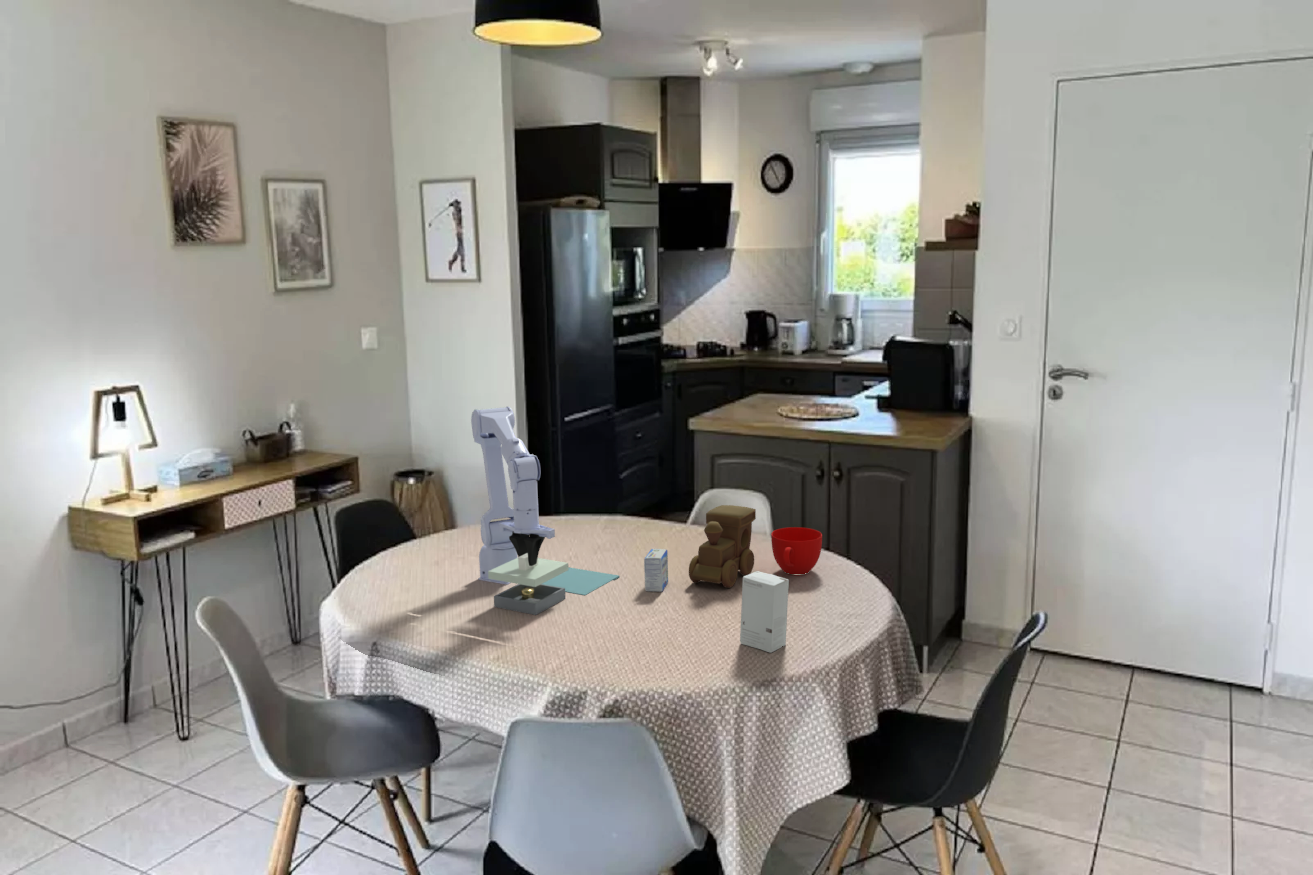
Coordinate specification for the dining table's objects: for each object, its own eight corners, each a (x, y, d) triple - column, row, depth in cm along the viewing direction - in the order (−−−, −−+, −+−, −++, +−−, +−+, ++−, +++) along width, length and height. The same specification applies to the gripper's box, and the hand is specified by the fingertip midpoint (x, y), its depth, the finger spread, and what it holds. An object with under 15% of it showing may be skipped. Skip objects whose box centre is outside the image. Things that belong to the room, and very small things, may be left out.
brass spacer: (519, 598, 233) (518, 590, 233) (526, 594, 235) (526, 587, 235) (529, 600, 231) (528, 592, 231) (536, 596, 234) (536, 588, 234)
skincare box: (739, 644, 204) (739, 576, 201) (755, 635, 209) (755, 569, 206) (773, 654, 199) (773, 584, 196) (789, 645, 203) (789, 577, 200)
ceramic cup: (760, 581, 243) (760, 543, 241) (778, 561, 258) (778, 525, 257) (811, 587, 238) (812, 547, 236) (826, 566, 254) (827, 529, 252)
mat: (531, 587, 242) (531, 585, 242) (567, 568, 256) (567, 567, 256) (585, 596, 234) (585, 594, 234) (619, 577, 248) (619, 575, 248)
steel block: (523, 607, 227) (523, 601, 227) (530, 603, 229) (529, 597, 229) (537, 610, 225) (537, 603, 225) (543, 606, 227) (543, 600, 227)
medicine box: (662, 592, 236) (661, 558, 235) (644, 591, 237) (643, 557, 236) (668, 582, 244) (667, 548, 242) (651, 581, 245) (650, 548, 243)
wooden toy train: (719, 564, 257) (719, 503, 254) (759, 570, 252) (759, 508, 249) (684, 586, 240) (683, 521, 237) (726, 593, 235) (726, 527, 232)
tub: (494, 608, 228) (493, 596, 227) (525, 592, 238) (524, 581, 238) (535, 616, 222) (535, 604, 222) (565, 600, 232) (565, 588, 232)
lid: (488, 578, 226) (487, 558, 225) (523, 562, 238) (522, 543, 237) (535, 587, 220) (534, 566, 219) (568, 570, 231) (567, 550, 231)
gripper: (490, 508, 226) (493, 564, 228) (541, 515, 219) (543, 573, 221) (509, 501, 232) (511, 556, 234) (559, 508, 225) (561, 564, 228)
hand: (528, 563), depth 228 cm, fingers closed on lid
